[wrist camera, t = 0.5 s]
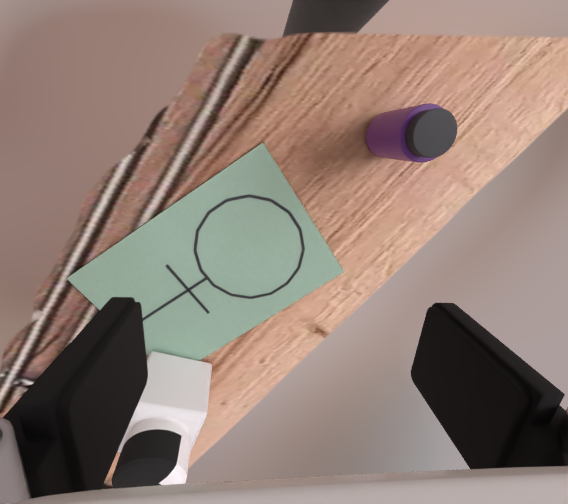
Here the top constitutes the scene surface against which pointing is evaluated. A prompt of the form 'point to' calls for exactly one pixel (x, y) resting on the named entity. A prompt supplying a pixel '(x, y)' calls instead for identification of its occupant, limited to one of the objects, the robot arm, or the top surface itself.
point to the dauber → (412, 133)
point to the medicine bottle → (164, 423)
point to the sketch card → (215, 260)
